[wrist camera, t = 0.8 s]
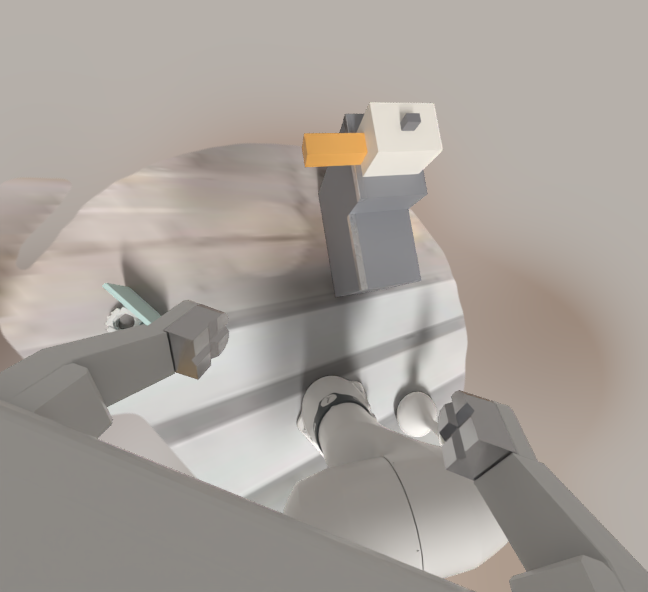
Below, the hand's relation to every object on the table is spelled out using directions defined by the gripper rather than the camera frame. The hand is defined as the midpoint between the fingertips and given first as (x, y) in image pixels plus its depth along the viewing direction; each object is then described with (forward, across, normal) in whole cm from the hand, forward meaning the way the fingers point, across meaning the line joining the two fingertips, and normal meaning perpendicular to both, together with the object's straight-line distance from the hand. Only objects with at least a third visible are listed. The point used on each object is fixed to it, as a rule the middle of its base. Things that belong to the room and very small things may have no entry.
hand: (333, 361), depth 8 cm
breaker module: (+38, -5, +5) cm, 39 cm away
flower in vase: (+39, +26, -48) cm, 68 cm away
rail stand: (+57, -4, -15) cm, 59 cm away
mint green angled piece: (+25, -44, -36) cm, 63 cm away
